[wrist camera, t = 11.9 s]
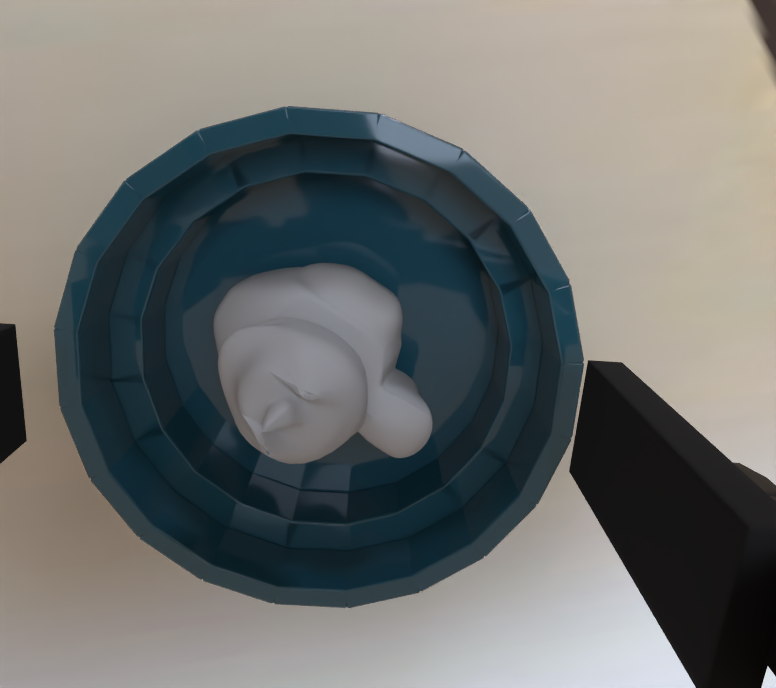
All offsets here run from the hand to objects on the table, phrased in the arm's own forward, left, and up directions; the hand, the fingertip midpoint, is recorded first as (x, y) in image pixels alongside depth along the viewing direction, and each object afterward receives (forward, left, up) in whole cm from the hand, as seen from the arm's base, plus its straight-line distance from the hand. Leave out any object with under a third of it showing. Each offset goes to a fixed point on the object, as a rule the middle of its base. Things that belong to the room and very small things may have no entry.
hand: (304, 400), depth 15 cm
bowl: (0, 0, -7) cm, 7 cm away
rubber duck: (0, 0, -6) cm, 6 cm away
